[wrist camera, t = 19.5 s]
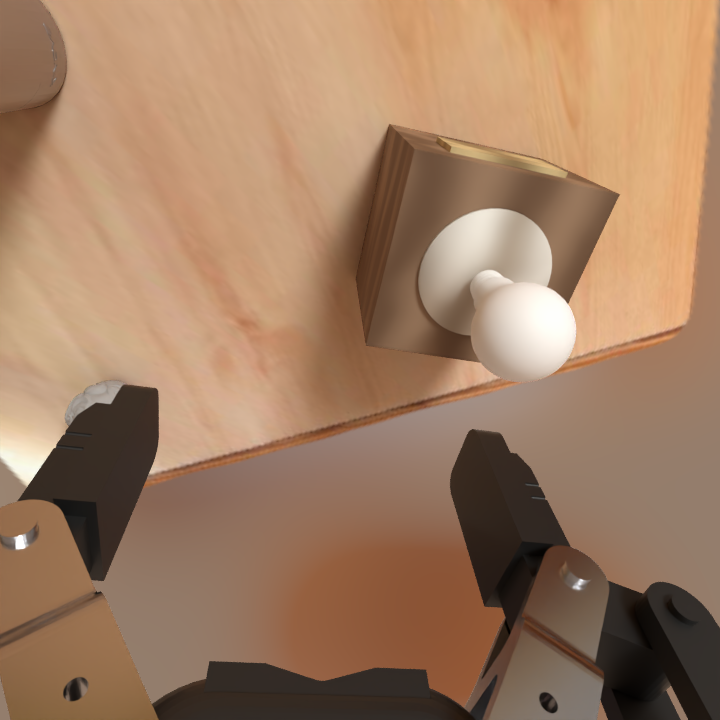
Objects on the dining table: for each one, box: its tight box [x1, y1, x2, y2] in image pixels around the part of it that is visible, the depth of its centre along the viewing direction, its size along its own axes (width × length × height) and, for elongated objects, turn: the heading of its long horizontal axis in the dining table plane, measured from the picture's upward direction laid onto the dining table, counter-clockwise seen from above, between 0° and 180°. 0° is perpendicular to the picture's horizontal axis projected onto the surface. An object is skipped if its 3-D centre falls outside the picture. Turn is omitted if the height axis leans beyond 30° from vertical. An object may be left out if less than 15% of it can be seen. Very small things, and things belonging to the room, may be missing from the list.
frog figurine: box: [65, 380, 127, 426], centre depth 53 cm, size 6×7×7 cm
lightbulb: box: [470, 270, 576, 382], centre depth 32 cm, size 6×6×11 cm
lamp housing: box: [356, 124, 620, 363], centre depth 42 cm, size 15×15×14 cm
